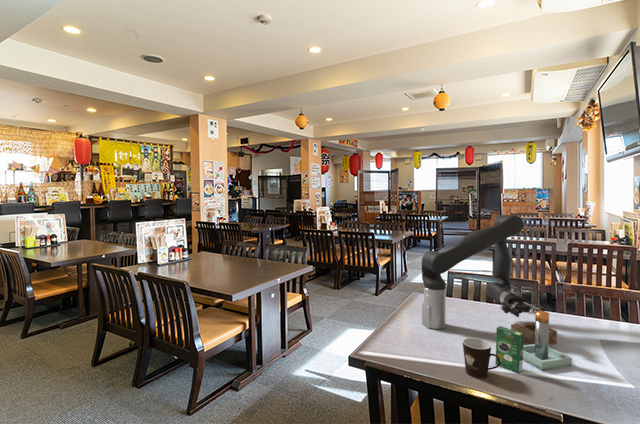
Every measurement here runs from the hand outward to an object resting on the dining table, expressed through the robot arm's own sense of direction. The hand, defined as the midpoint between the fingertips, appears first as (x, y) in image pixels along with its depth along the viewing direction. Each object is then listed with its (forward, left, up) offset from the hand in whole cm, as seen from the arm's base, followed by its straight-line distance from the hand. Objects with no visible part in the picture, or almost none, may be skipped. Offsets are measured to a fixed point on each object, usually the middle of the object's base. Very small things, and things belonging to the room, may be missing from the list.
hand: (530, 314), depth 127 cm
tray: (-3, -8, -13) cm, 16 cm away
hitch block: (+8, +7, -13) cm, 17 cm away
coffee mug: (-31, -12, -14) cm, 35 cm away
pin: (-3, -8, -12) cm, 15 cm away
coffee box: (-18, -10, -14) cm, 24 cm away
